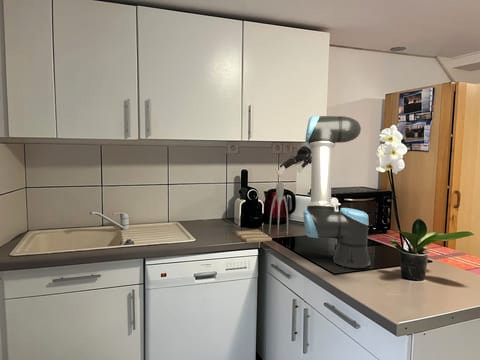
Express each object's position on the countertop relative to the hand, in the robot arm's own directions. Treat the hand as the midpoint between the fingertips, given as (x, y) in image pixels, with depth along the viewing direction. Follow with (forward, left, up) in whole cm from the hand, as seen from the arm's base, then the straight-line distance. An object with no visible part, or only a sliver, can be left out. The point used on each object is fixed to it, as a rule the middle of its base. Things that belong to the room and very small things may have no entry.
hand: (288, 172), depth 183 cm
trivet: (+7, +16, -36) cm, 40 cm away
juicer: (+7, -1, -36) cm, 36 cm away
